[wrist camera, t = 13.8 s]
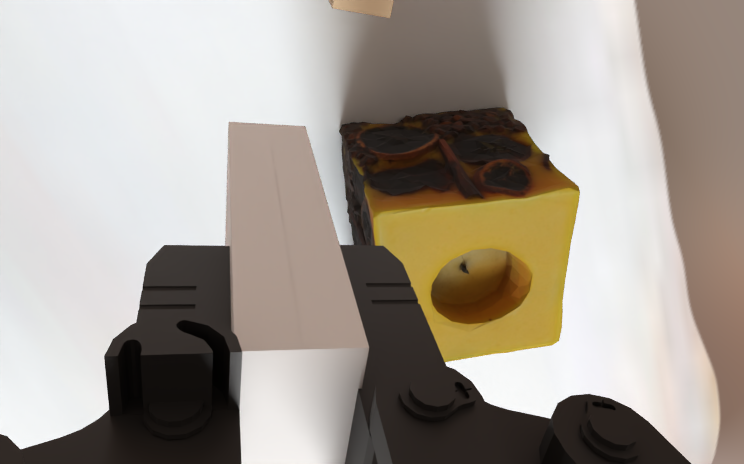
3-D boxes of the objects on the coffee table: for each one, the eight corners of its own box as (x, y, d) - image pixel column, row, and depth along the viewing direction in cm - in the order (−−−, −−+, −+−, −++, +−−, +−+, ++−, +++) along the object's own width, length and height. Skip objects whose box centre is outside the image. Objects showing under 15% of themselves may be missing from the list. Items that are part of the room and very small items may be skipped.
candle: (337, 121, 36) (365, 208, 27) (509, 101, 37) (586, 179, 28) (350, 267, 41) (377, 377, 33) (499, 245, 42) (561, 346, 34)
